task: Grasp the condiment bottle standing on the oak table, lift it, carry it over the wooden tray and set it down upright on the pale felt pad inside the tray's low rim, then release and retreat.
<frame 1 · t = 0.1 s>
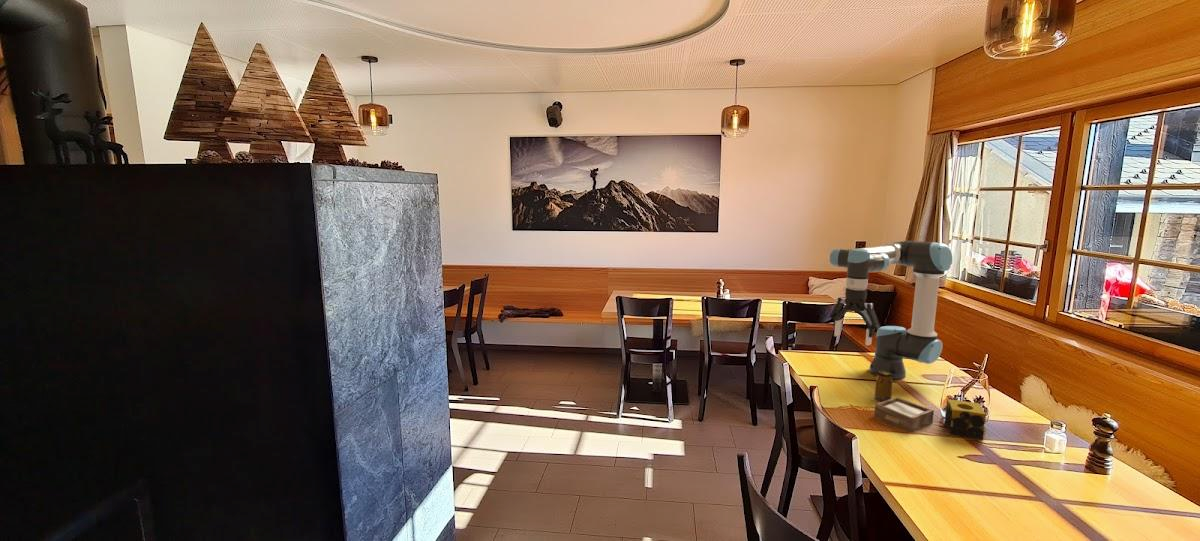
hand: (852, 340, 197), 28 cm above the table, fingers open, 13 cm apart
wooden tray: (902, 419, 189), on the table
yellow black cube: (963, 432, 180), on the table
condiment: (884, 401, 206), on the table
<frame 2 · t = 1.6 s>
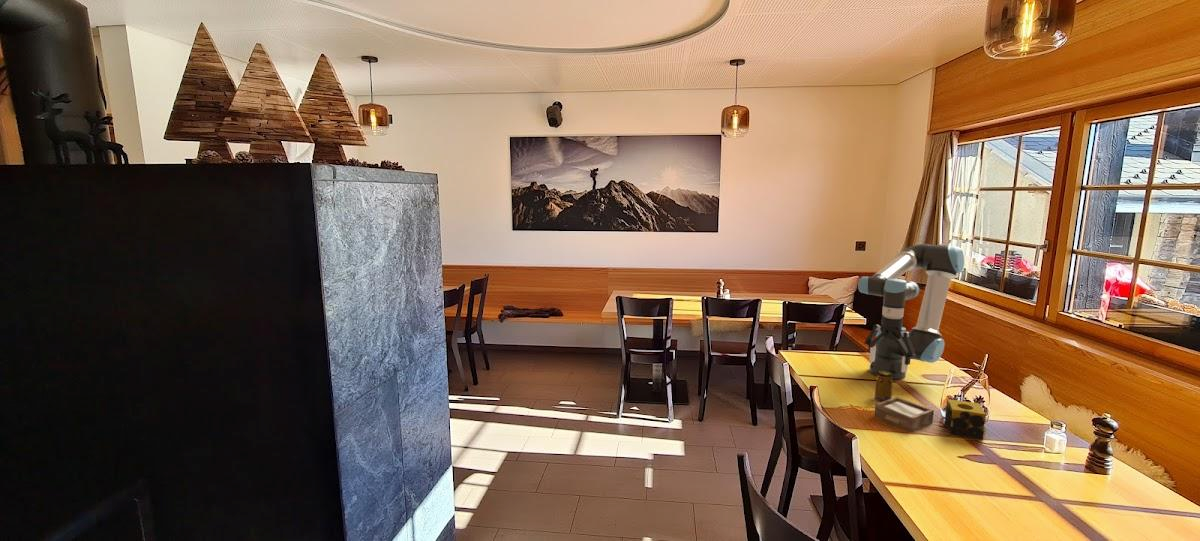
hand: (887, 366, 203), 15 cm above the table, fingers open, 13 cm apart
nothing on the table moved.
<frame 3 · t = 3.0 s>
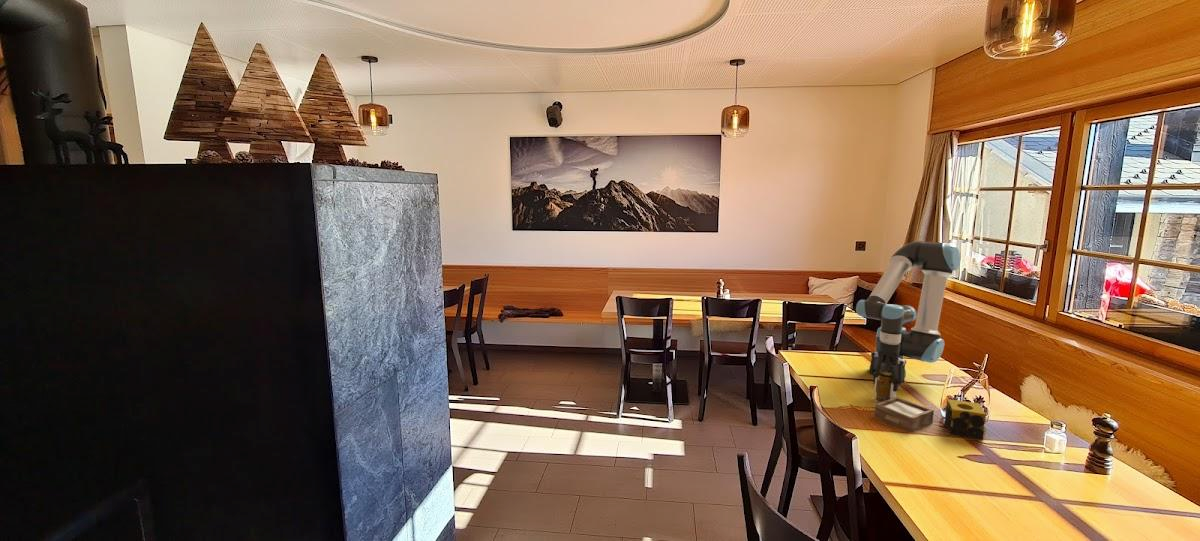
hand: (884, 394, 206), 2 cm above the table, fingers closed on condiment, 6 cm apart
condiment: (886, 401, 205), on the table, touching gripper
everything else where it was.
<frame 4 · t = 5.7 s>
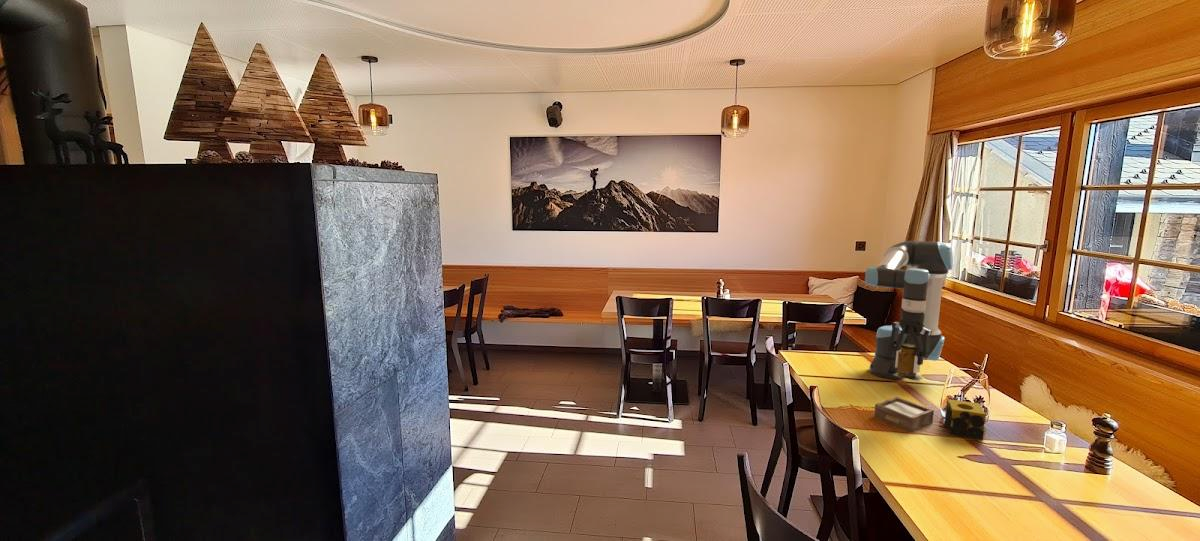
hand: (907, 369, 186), 20 cm above the table, fingers closed on condiment, 6 cm apart
condiment: (908, 377, 185), point 18 cm above the table, touching gripper
everything else where it was.
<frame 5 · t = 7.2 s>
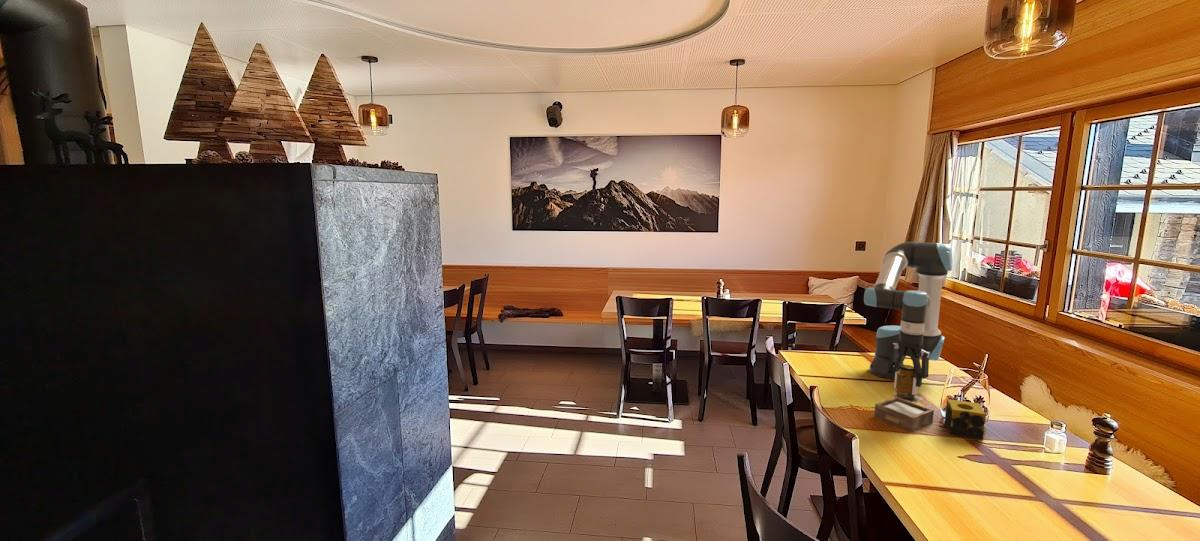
hand: (905, 390, 187), 12 cm above the table, fingers closed on condiment, 6 cm apart
condiment: (907, 398, 186), point 9 cm above the table, touching gripper
everything else where it was.
when the fingers open (7 cm above the table, at t = 8.4 s): condiment stays where it is, resting on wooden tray.
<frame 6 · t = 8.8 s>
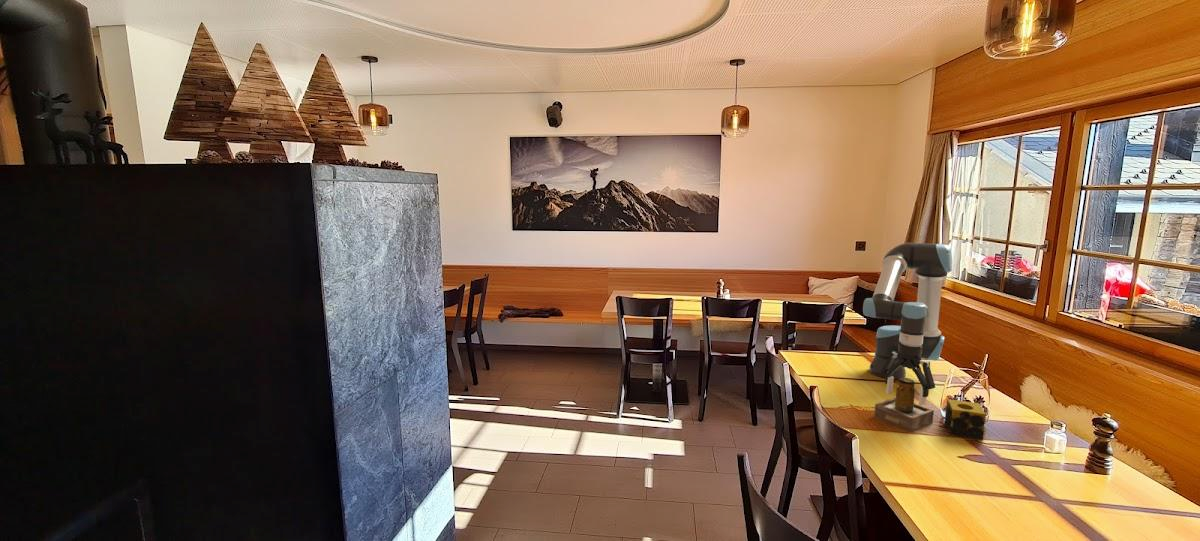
hand: (905, 398, 187), 9 cm above the table, fingers open, 11 cm apart
condiment: (906, 410, 187), point 4 cm above the table, touching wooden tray
everything else where it was.
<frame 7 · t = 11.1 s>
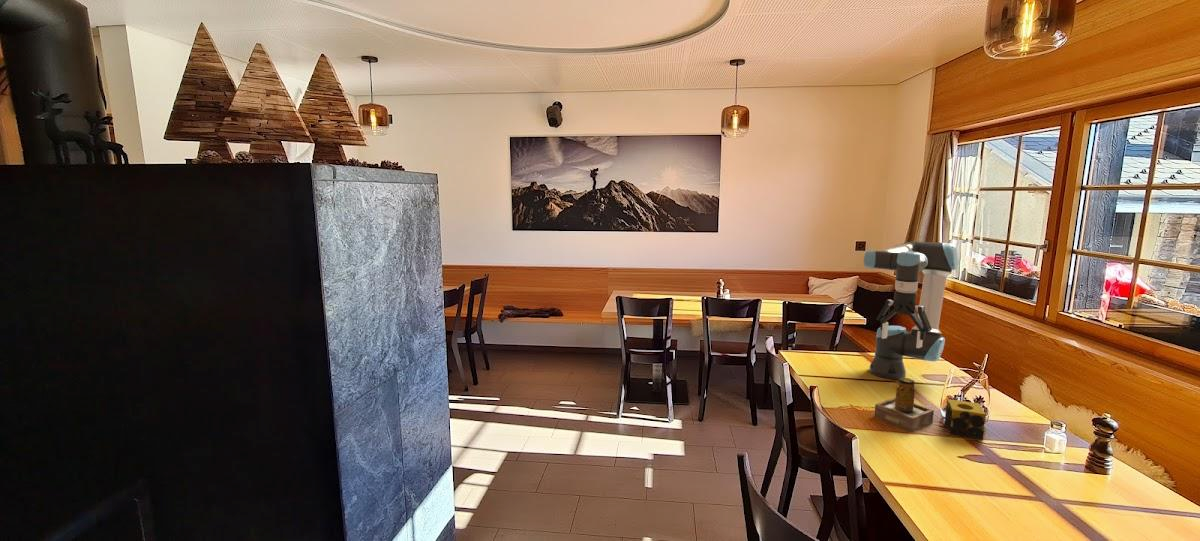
hand: (901, 342, 196), 27 cm above the table, fingers open, 13 cm apart
nothing on the table moved.
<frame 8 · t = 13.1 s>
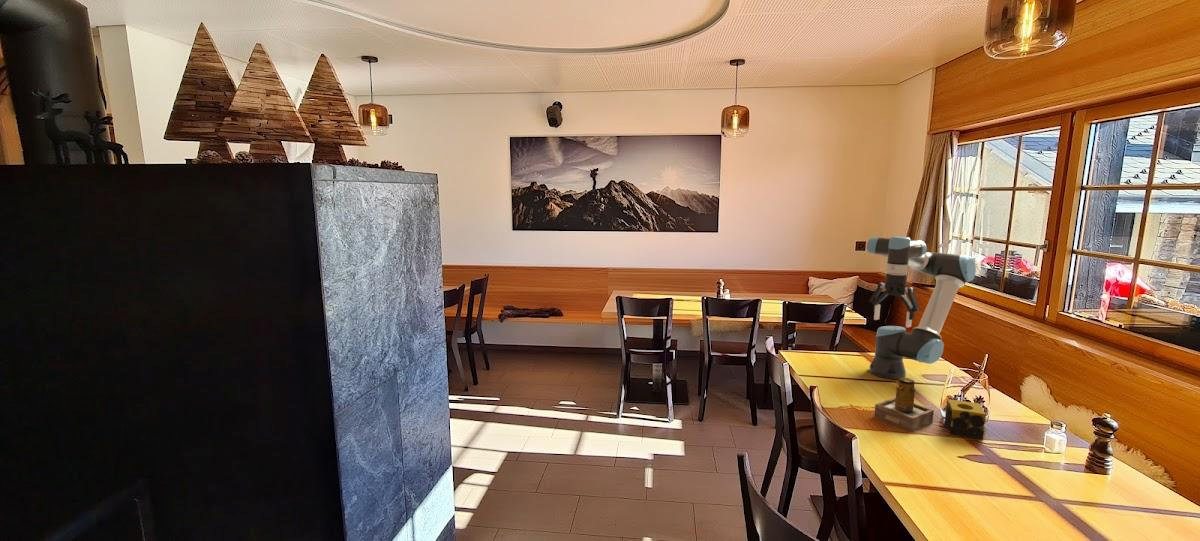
hand: (892, 323, 208), 32 cm above the table, fingers open, 13 cm apart
nothing on the table moved.
at the end: condiment inside the target area on the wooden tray (0.8 cm from its centre), point 4.0 cm above the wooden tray's base; condiment tilted 0°; the gripper is holding nothing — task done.
